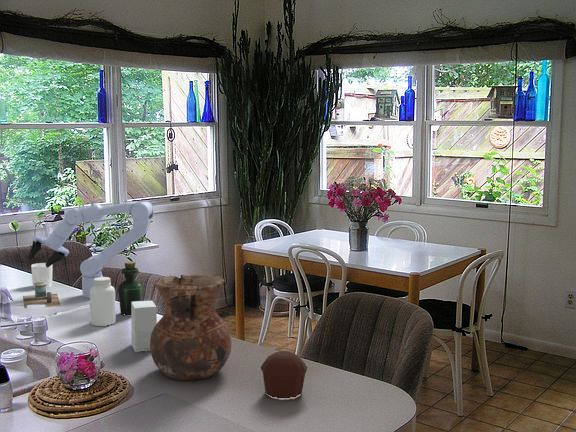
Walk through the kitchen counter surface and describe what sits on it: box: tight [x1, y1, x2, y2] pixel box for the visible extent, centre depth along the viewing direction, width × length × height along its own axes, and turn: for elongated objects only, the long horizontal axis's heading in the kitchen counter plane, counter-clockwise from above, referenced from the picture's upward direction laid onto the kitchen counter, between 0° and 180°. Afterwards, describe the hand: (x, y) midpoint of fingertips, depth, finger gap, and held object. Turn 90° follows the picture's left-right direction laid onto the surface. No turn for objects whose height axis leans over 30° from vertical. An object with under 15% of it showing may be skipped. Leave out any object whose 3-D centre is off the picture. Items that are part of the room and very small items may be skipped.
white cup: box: [30, 262, 54, 289], centre depth 265 cm, size 8×8×10 cm
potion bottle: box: [117, 260, 143, 315], centre depth 232 cm, size 8×8×18 cm
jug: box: [149, 274, 233, 381], centre depth 175 cm, size 22×21×25 cm
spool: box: [34, 282, 47, 297], centre depth 246 cm, size 4×4×6 cm
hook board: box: [22, 291, 62, 309], centre depth 242 cm, size 19×12×5 cm, turn 23°
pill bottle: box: [89, 276, 117, 327], centre depth 219 cm, size 8×8×15 cm
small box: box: [130, 300, 158, 353], centre depth 195 cm, size 8×6×13 cm
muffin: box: [260, 350, 308, 398], centre depth 163 cm, size 12×11×10 cm
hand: (37, 262), depth 251 cm, fingers open, 7 cm apart
